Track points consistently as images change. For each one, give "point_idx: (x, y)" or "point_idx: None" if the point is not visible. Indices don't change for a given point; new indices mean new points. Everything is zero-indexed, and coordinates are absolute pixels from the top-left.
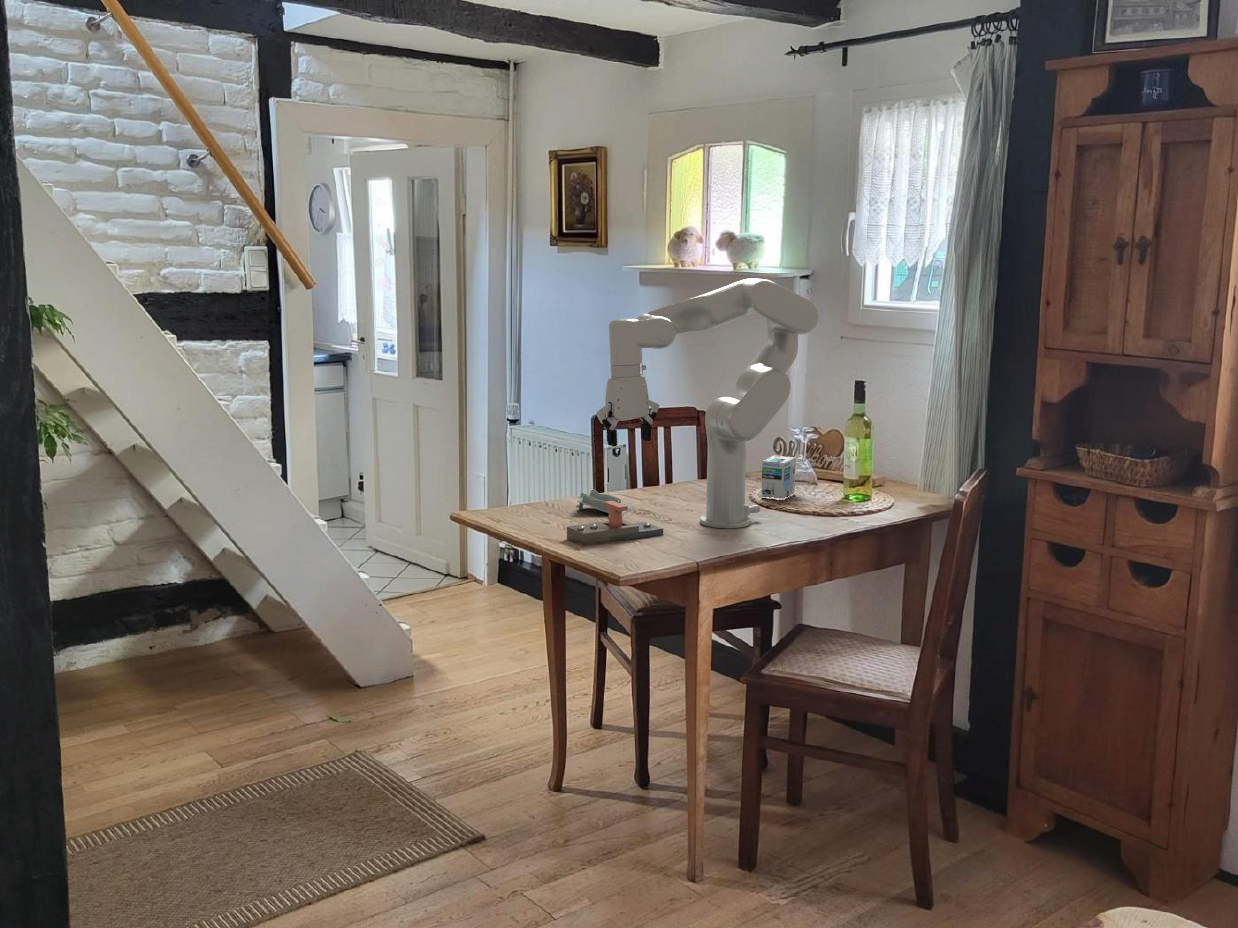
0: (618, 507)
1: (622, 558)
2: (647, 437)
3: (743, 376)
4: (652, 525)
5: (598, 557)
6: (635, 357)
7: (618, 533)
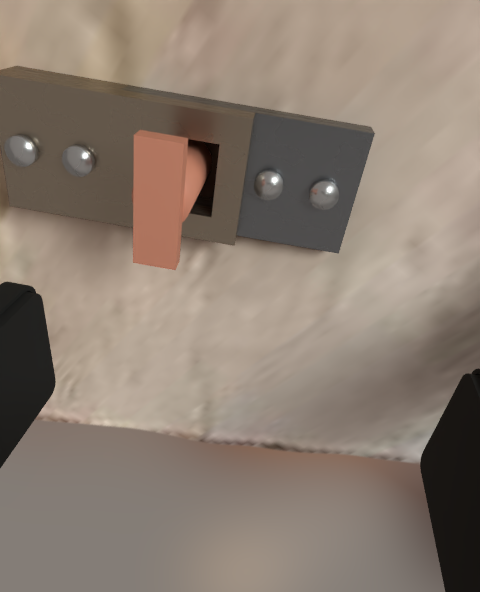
0: (133, 256)
1: (74, 336)
2: (429, 481)
3: None
4: (346, 197)
5: None
6: None
7: None
